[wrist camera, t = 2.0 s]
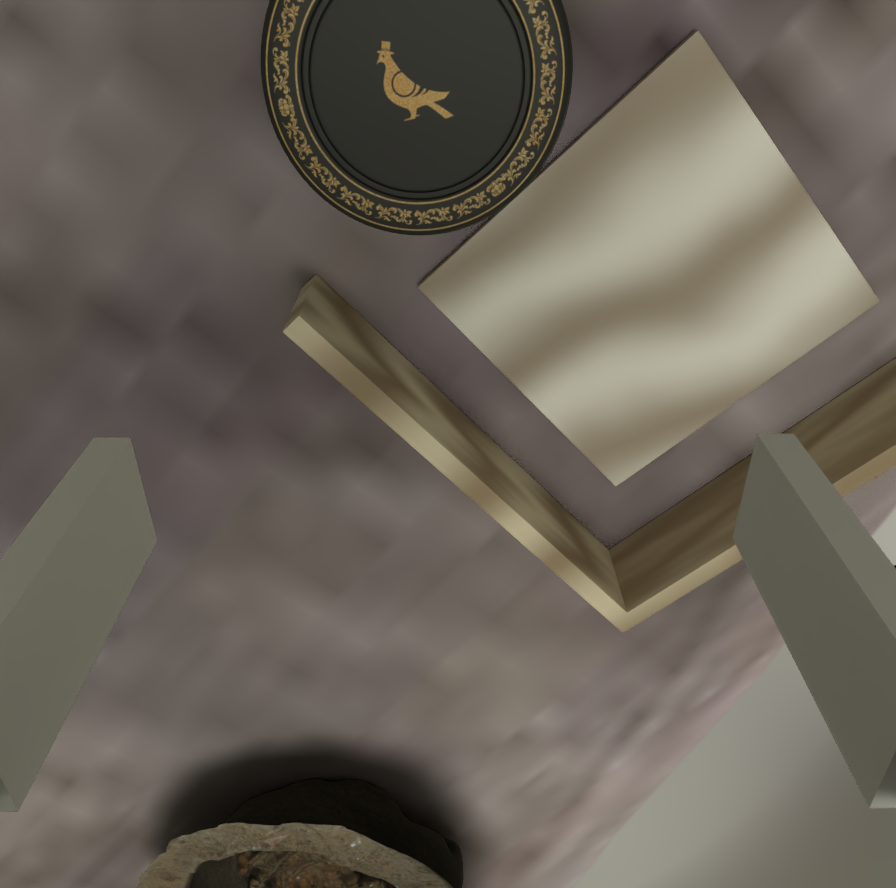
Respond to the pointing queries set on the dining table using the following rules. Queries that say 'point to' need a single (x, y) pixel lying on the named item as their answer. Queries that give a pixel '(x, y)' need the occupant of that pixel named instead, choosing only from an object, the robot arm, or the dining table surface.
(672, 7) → the dining table surface
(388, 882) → the stone bowl
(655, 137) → the arena
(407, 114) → the jar
